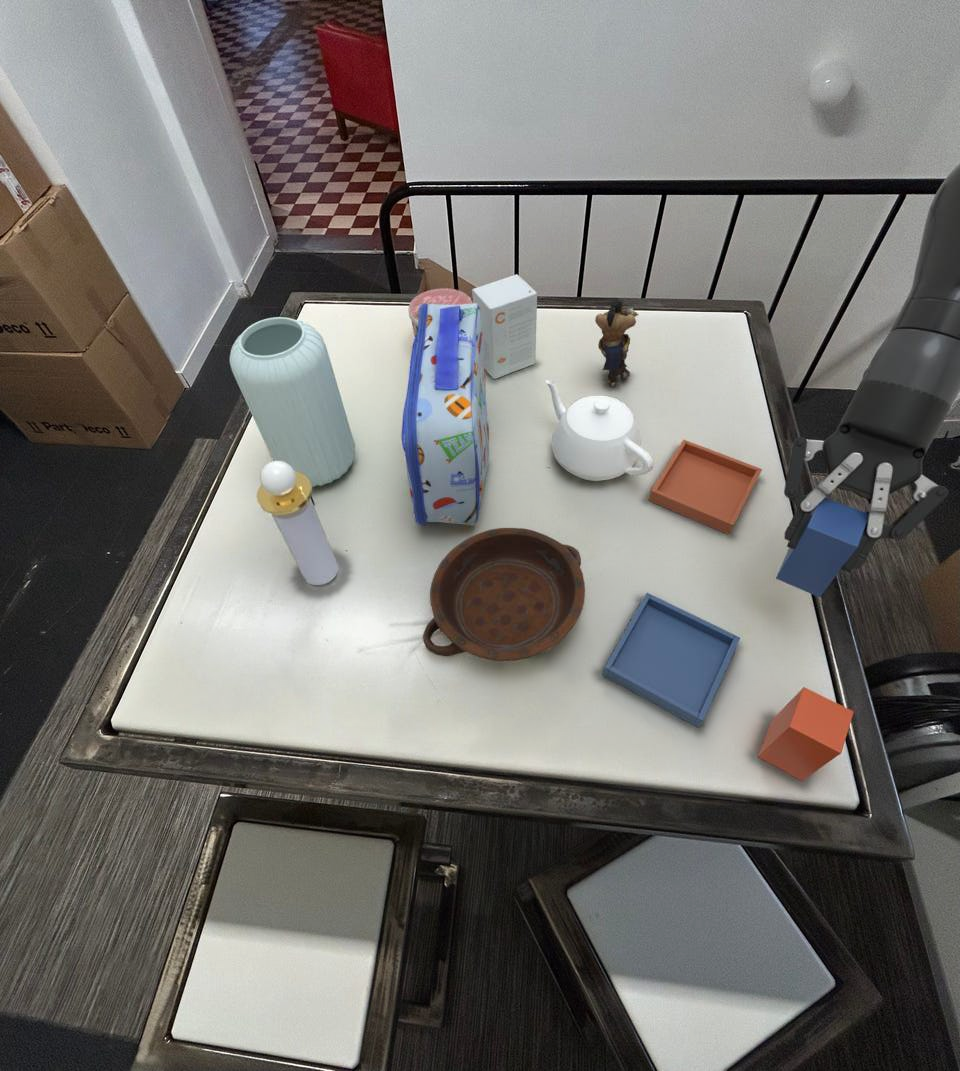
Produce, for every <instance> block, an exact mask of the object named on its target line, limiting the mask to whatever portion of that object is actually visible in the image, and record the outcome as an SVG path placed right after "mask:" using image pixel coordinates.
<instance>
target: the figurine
mask: <svg viewBox="0 0 960 1071" xmlns="http://www.w3.org/2000/svg"><path fill="white" fill-rule="evenodd" d="M623 306H624V301H623V299H619V298H618V299H617V298H616V299H613V301H612V303H611V304H610V309H609V310H608V311H606V312H603V313H598V314H597V315H596V316H595V320H594V321H595V324H596V326H598V327H599V329H600V330H601V334H602V337H601V338H600V339H599V341H598V344H597V346H598V349H599V350H600V352H601V354H602V356H603V357H604V358H605V362H604V364H603V368H602V371H608V374H607V380H608V386H609V387H611V388H615V387H617V385H618V384H617V380H618V377H620V379H626V378H629V377H630V371H629V370H628V369H627V368H628V366H627V364H626V360H627V357H628V352H629V346H630V344H631V337H630V334H628V333H626V331H627V330H629V329H630V328H632V327H635V325H636V323H637V320H636V317H638V316H639V313H638V312H637V311H635V309H634V308H633V307H632V308H629V307H627V308H624V307H623Z"/></svg>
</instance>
